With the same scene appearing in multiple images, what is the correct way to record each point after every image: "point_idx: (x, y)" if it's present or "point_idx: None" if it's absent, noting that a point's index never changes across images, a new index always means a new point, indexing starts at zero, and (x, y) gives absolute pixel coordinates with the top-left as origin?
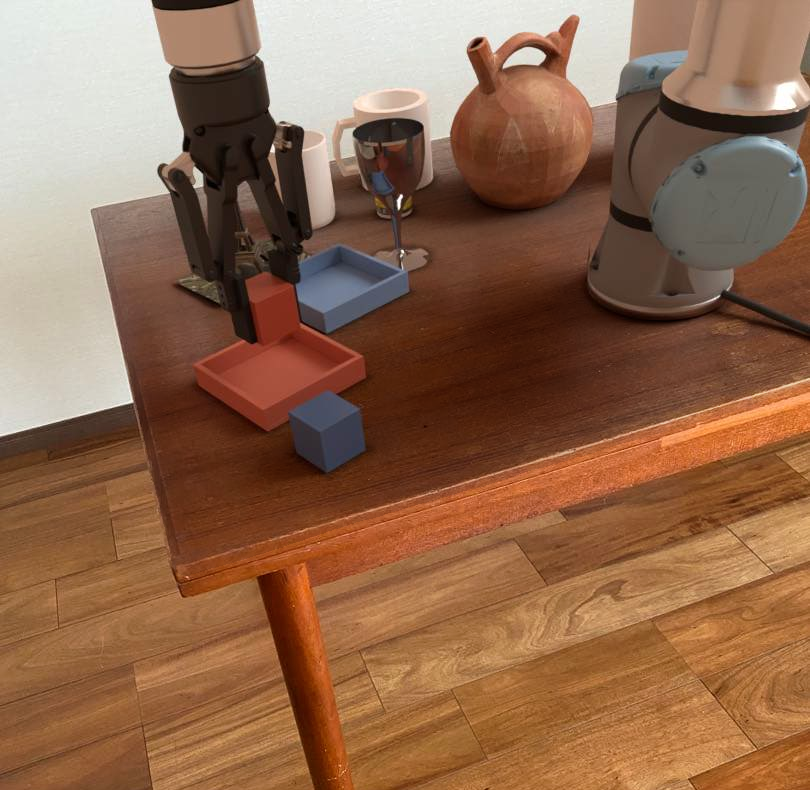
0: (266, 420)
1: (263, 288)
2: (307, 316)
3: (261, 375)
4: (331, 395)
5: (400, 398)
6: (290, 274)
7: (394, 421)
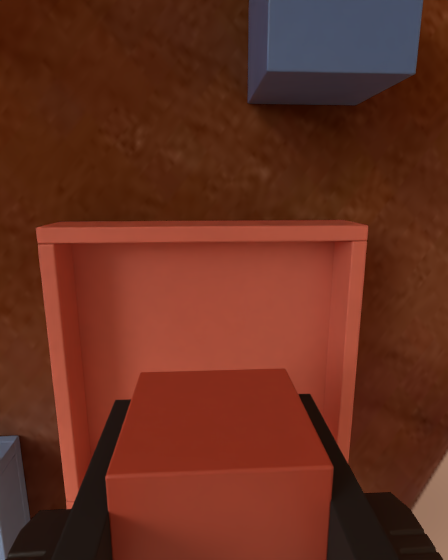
0: (353, 222)
1: (221, 544)
2: (17, 507)
3: None
4: (279, 34)
5: (51, 83)
6: (77, 543)
7: (124, 14)
